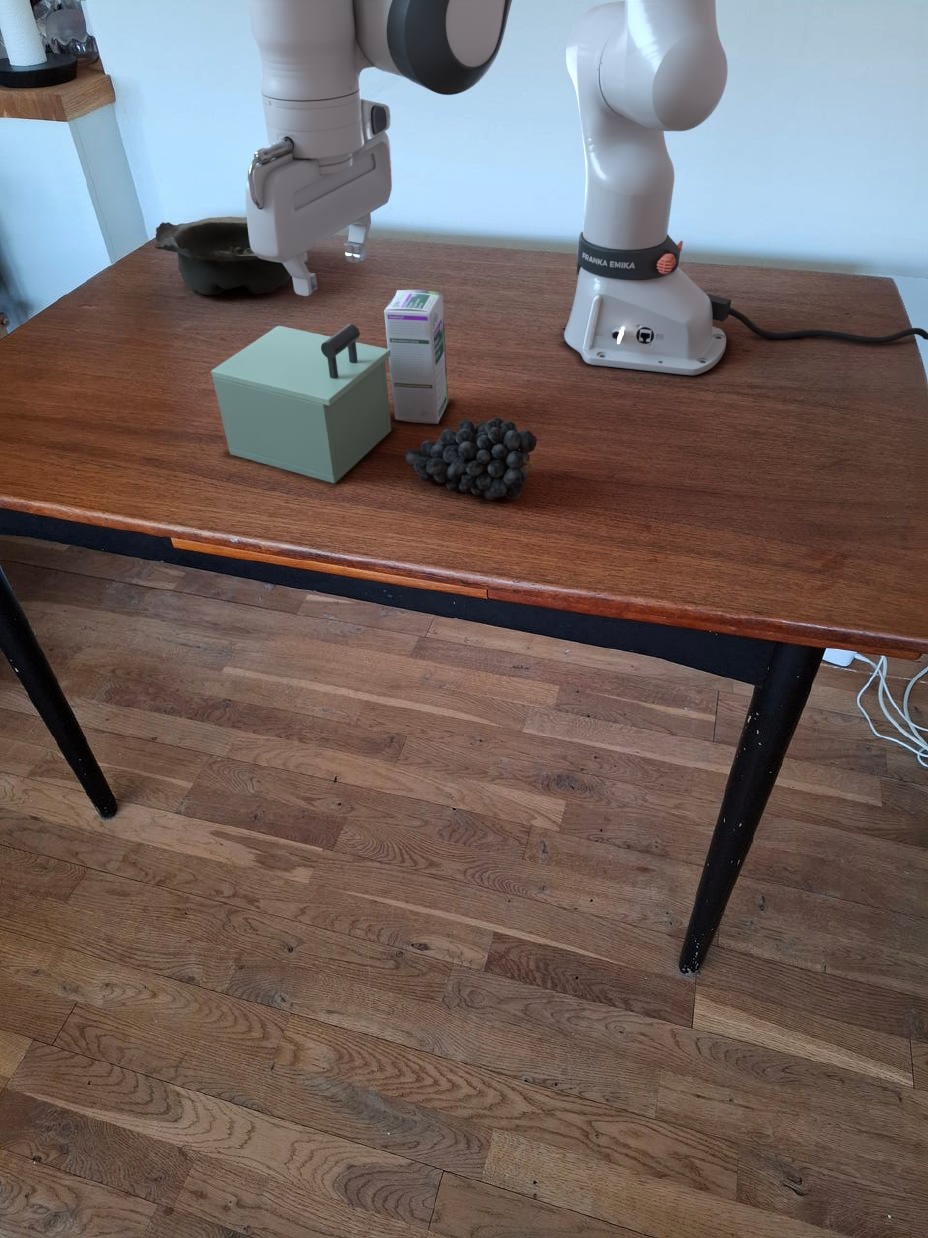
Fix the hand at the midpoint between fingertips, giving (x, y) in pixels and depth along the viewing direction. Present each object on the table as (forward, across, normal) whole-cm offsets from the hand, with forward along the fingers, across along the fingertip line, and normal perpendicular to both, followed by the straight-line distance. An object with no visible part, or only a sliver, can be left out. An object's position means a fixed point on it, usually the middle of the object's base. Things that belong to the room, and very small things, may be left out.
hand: (332, 275), depth 91 cm
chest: (+21, 0, +6) cm, 22 cm away
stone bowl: (+21, +38, +44) cm, 62 cm away
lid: (+11, 0, +6) cm, 12 cm away
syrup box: (+21, +12, -3) cm, 25 cm away
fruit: (+21, 0, -16) cm, 26 cm away
